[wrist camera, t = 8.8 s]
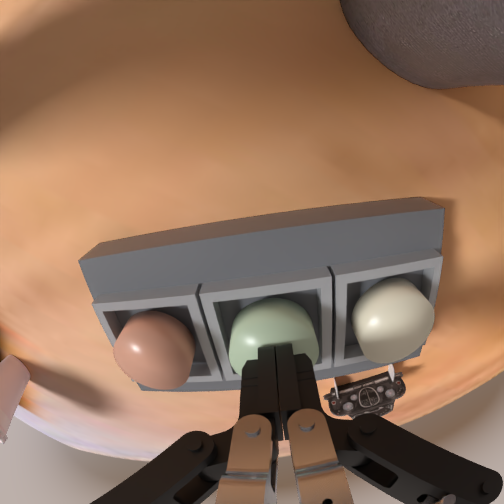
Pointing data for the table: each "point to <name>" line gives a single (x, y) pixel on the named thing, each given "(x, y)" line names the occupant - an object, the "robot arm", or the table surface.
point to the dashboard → (367, 395)
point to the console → (268, 277)
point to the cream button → (392, 320)
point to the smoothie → (10, 390)
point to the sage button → (271, 330)
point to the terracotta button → (155, 350)
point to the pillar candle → (433, 39)
